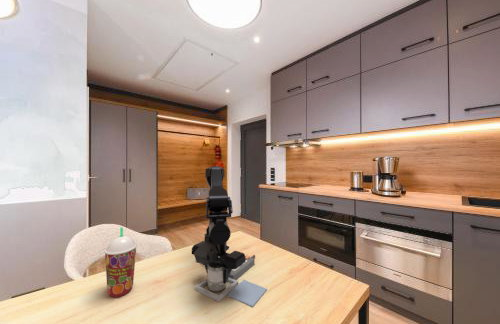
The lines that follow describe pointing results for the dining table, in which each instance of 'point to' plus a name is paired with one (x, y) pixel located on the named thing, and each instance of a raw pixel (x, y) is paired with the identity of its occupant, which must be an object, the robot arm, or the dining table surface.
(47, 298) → the dining table surface
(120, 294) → the smoothie
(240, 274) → the grey frame with handle
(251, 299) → the mat
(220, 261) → the camera lens
